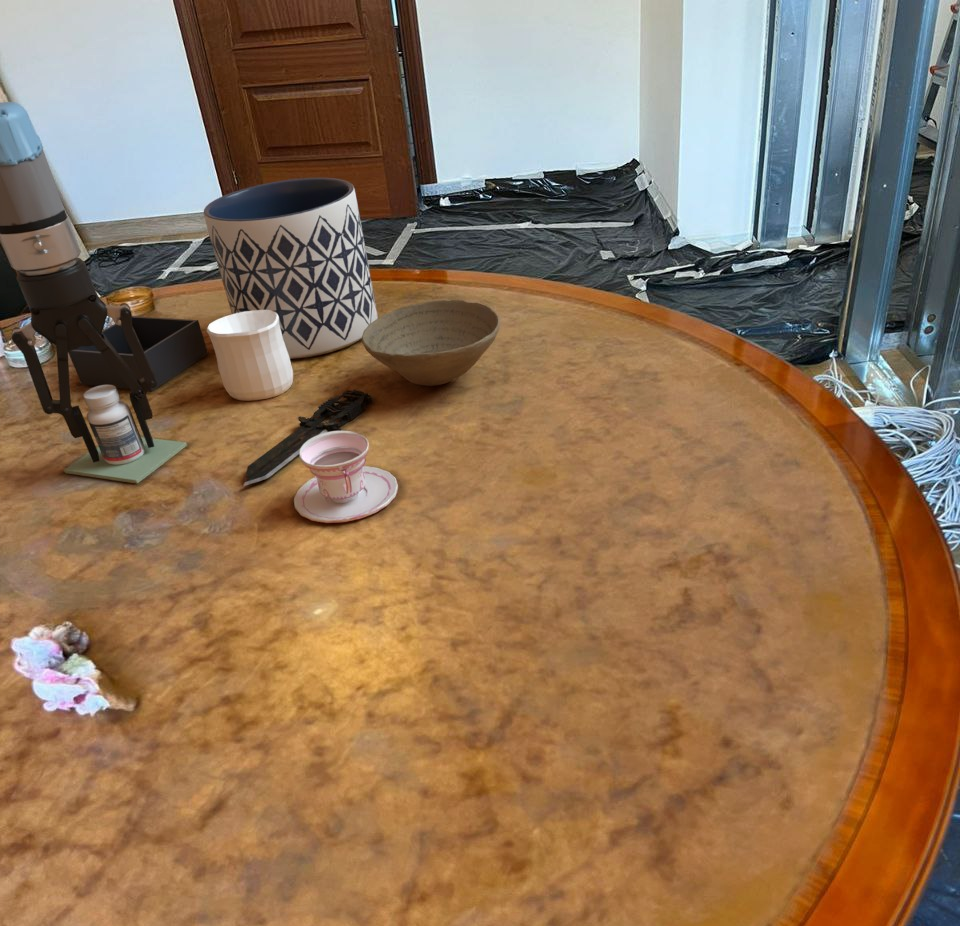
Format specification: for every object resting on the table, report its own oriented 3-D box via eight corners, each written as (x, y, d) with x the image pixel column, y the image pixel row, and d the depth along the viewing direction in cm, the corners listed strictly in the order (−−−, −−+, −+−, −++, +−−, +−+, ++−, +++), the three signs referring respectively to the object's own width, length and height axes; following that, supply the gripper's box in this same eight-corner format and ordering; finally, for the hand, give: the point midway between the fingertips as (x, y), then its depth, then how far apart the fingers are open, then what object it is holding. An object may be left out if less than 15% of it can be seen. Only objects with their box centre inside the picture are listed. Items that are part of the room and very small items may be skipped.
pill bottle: (110, 448, 116) (84, 384, 111) (149, 443, 116) (125, 379, 110) (100, 468, 112) (72, 403, 106) (140, 463, 112) (115, 397, 106)
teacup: (284, 487, 104) (271, 440, 100) (381, 460, 107) (372, 413, 103) (308, 536, 95) (294, 486, 91) (412, 505, 98) (403, 455, 94)
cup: (306, 387, 126) (289, 319, 120) (240, 410, 123) (220, 341, 116) (281, 368, 133) (264, 303, 126) (218, 389, 129) (197, 322, 123)
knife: (254, 493, 104) (251, 483, 103) (216, 482, 107) (212, 472, 106) (383, 403, 119) (382, 393, 119) (347, 395, 123) (345, 386, 122)
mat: (65, 473, 113) (63, 469, 113) (117, 436, 120) (115, 433, 120) (137, 483, 109) (136, 480, 109) (187, 445, 116) (186, 442, 115)
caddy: (81, 384, 136) (67, 350, 133) (140, 348, 146) (128, 315, 142) (152, 391, 131) (139, 356, 128) (208, 353, 141) (198, 319, 137)
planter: (371, 354, 133) (344, 209, 120) (226, 368, 135) (184, 227, 122) (385, 302, 150) (362, 171, 137) (256, 315, 152) (222, 187, 139)
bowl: (408, 423, 114) (398, 364, 109) (351, 379, 127) (339, 324, 122) (529, 381, 120) (524, 323, 115) (462, 343, 133) (456, 289, 128)
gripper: (-44, 293, 94) (46, 483, 109) (138, 254, 98) (201, 442, 113) (-40, 274, 100) (46, 458, 114) (132, 238, 104) (193, 419, 119)
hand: (123, 449), depth 114 cm, fingers open, 6 cm apart
